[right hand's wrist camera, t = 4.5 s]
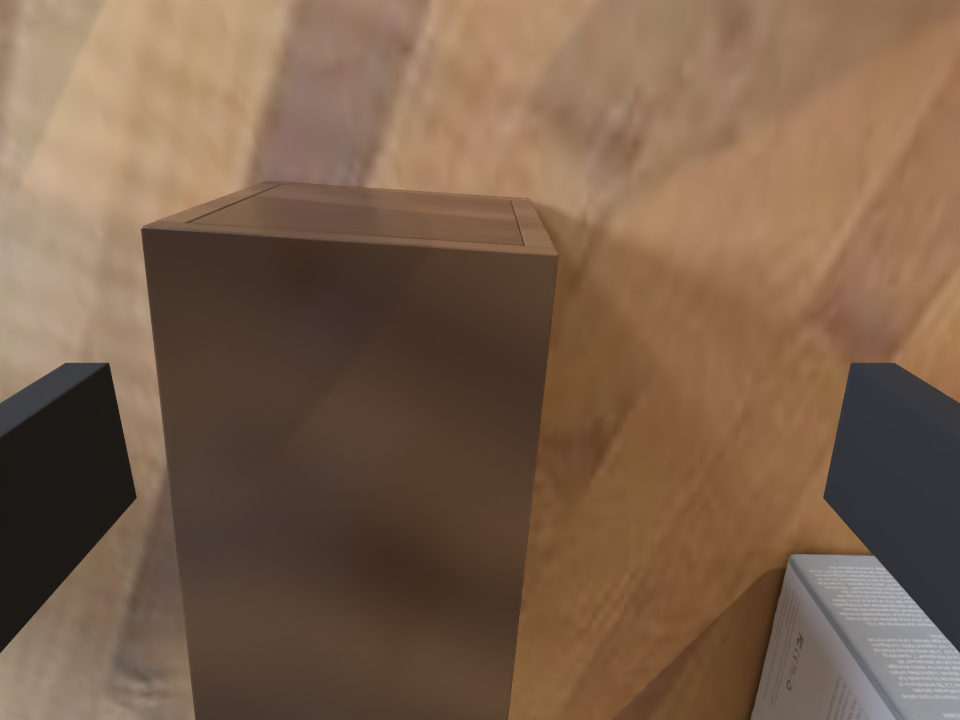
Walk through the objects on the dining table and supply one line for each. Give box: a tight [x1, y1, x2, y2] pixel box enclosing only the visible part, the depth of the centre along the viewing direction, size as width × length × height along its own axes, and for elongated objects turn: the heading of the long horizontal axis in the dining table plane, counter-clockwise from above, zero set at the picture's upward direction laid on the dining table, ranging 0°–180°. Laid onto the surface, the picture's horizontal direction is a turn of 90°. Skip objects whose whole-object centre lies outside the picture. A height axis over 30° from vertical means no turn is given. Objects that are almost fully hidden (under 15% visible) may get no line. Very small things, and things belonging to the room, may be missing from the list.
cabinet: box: [141, 181, 559, 720], centre depth 27 cm, size 22×11×11 cm, turn 176°
